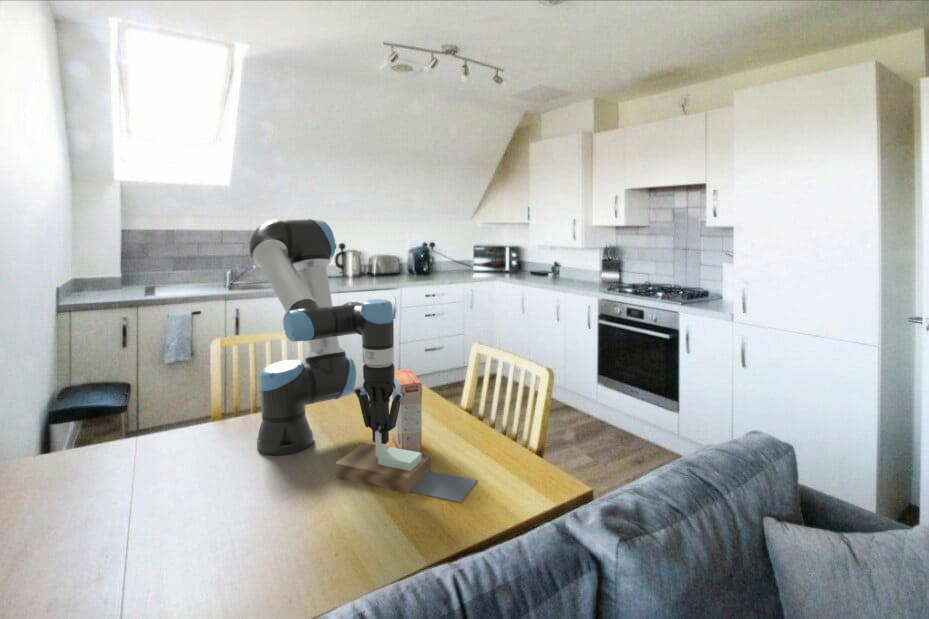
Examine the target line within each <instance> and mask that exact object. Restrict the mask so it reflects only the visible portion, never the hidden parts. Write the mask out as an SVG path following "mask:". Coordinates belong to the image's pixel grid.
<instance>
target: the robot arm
mask: <svg viewBox="0 0 929 619" xmlns="http://www.w3.org/2000/svg"><path fill="white" fill-rule="evenodd" d="M335 247H336V239H335V236H334V232H333V230H332V228H331V226H329V224H328V223H327V222H326V221H324V220H321V219H312V218H308V219H272V220H268V221H266V222H264V223H261V225H259V226H258V227H257V228H256V229H255V231H254V232H253V233H252V235H251V238H250V240H249V247H248V248H249V254H250V257H251V259H252V261H253V264H255V266H256V267H257V268H259V269H261V270H262V271H263V273H264V275H265V276H266V278H267V280H268V283H269V284H270V285H271V288H272V290H273V292H274V293H275V295H276V297H277V298H278V300H279V301H280V304H281V305H282V308H283V309H284V311H285V313H284V316H283V320H282V322H283V324H282V325H283V330H284V335H285V337H286V338H287V339H288V340H289V341H291V342H294V343H295V342H307V344H308V349H309V350H308V352H307V354H306V356H305V357H304V360H305V363H303V361H302V360H300V359H285V360H280V361H276V362H273V363H271V364H268V365H267V366H265V367H264V368H263V369H262V370H261V371H260V373H259V386H258V387H259V391H260V406H261V424H260V428H259V431H258V436H257V438H256V448H257V450H258V451H259V452H260V453H262V454H265V455H270V456H284V455H285V456H286V455H291V454H295V453H299V452H301V451H303V450H305V449H308V448H309V447H311V445H312V444H313V443H314V433H313V431H312V429H311V427H310V424H309V421H308V418H307V415H306V406H308V405H312V404H317V403H322V402H328V401H331V400H339V399H341V398H344V397H347V396H349V395H350V394H352V392H353V391H354V393H355V396H356V397H357V398H358V402H359V406H360V411H361V416H362V419H363V422H364V427H366V428H369V429H371V431H372V433H371V434H372V442H373V443H374V445H375V449H376V457H378V456H379V455H381V454H382V453H383V452H384V451H386V447H387V443H389V440H390V438H389V436H390V435H389V434H390V433H389V432H390V431H392V429H393V428H394V427H395V426H396V422H397V417H398V413H399V408H400V403H401V400H402V399H403V397H404V393H403V392H401V393H400V392H399V391H397V390H396V386H395V384H394V371H395V363H394V362H395V346H394V343H395V342H394V341H395V340H394V339H395V338H394V337H395V336H394V333H395V332H394V327H395V326H394V323H395V322H394V318H395V316H394V312H393V303H392V302H391V301H390V300H388V299H381V298H380V299H378V298H376V299H374V298H372V299H367V300H364V301H362V302H358V301H348V302H345V303H343V304H341V305H333V301H332V294H331V289H330V288H331V287H330V283H329V275H328V270H327V268H328V266H329V265H330V264H331V258H332V257H333V256H334V255H335V252H336V248H335ZM356 334H357V335H360V336H361V342H362V343H361V344H362V345H361V346H362V362H363V364H364V365H362V374H363V377H362V378H363V380H364V381H363V384H362V386H360V387H358V388H357V389H355V385H356V383H357V369H356V364H355V363H354V360H353V358H352V357H350V356H347V355H346V350H345V349H343V348H342V347H341V346H340V345H339V337H342V336H349V335H356ZM354 389H355V390H354ZM392 394H393V397H392ZM392 399H393V401H392ZM390 400H391V401H390ZM390 402H391V406H390Z"/></svg>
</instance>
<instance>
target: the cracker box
mask: <svg viewBox="0 0 929 619" xmlns="http://www.w3.org/2000/svg"><path fill="white" fill-rule="evenodd" d="M394 384H395V386H396V390H397V391H399V392H400V393H401V392H403V393H404V397H403V399H402V400H401V403H400V408H399V413H398V417H397V422H396V426H395V427H394V428H393V429H392V430H391V435H392V436H391V437H392V441H393V444H394V445H395V448H398V449H403V450H408V451H414V452H419V453H422V452H423V450H422V443H423V442H422V439H423V438H422V426H423V425H422V424H423V422H422V421H423V420H422V418H423V417H422V414H423V413H422V412H423V411H422V410H423V409H422V408H423V407H422V406H423V405H422V404H423V402H422V400H423V399H422V398H423V394H422V392H423V391H422V390H423V389H422V388H423V387H422V386H423V385H422V384H423V383H422V382H421V381H420V380H419V378H418V377H417V376H416V375H415V374H414V372H413V371H412V369H400V370H394ZM392 397H393V394H392V395H391V402H392V401H393V399H392ZM422 454H423V453H422Z"/></svg>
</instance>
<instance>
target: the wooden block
mask: <svg viewBox="0 0 929 619" xmlns="http://www.w3.org/2000/svg"><path fill="white" fill-rule="evenodd" d="M388 448H390V446H389V447H388V446H386V450H387V449H388ZM334 467H335V479H338V480H341V481H342V480H343V481H347V482H350V483H355V484H361V485H365V486H369V487H373V488H378V489H382V490H387V491H392V492H397V493H401V494H405V495H409V494H410V493H411V492H410V490H411V489H412V488H413V487H414V486H415V485H416V484H417V483H418V482H419V481H420V480H421V479H422V478H423V477H424V476H425V475H426V474H427V473H428V472H429V471H432V454H427V453H422V461H421V462H420V463H418V464H417V465H416V466H415V467H414V468H413V469H412V470H411V471H408V470H403V469H398V468H393V467H389V466H384V465H379V464H378V457H376V449H375V444H372V443H367V442H363V443H362V444H360V445H359V446H357V447H356V448H354V449H353V450H351V451H350V452H349V453H347V454H346V455H345V456H343V457H341V458H340V459H339V460H337V461H336V462H335V466H334Z"/></svg>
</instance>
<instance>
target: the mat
mask: <svg viewBox="0 0 929 619" xmlns="http://www.w3.org/2000/svg"><path fill="white" fill-rule="evenodd" d="M477 483H478V479H474V478H468V477H465V476H460V475H455V474H448V473H443V472H439V471H435V470H434V471H433V470H431V471H429V472H428V473H427V474H426V475H425V476H424V477H423V478H422V479H421V480H420V481H419V482H418V483H417V484H416V485H415V486H414V487H413V488H412V489H411V490H410V492H409V493H413V494H417V495H421V496H426V497H431V498H436V499H439V500H446V501H448V502H449V501H450V502H453V503H454V502H455V503H457V504H458V503H459V504H462V503H463V501H464V500H465V498H466V497H467V496H468V494H469V493H470V492H471V490H472V489H473V488H474V487H475V486H476V484H477Z"/></svg>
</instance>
